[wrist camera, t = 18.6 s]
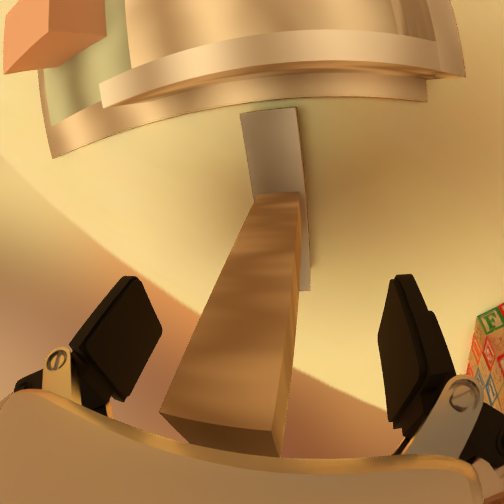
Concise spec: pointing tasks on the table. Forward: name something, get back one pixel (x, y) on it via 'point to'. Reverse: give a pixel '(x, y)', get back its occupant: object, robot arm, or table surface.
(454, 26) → the cubby
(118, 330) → the robot arm
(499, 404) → the stack of blocks
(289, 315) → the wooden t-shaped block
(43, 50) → the block
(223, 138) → the table surface
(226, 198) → the table surface
